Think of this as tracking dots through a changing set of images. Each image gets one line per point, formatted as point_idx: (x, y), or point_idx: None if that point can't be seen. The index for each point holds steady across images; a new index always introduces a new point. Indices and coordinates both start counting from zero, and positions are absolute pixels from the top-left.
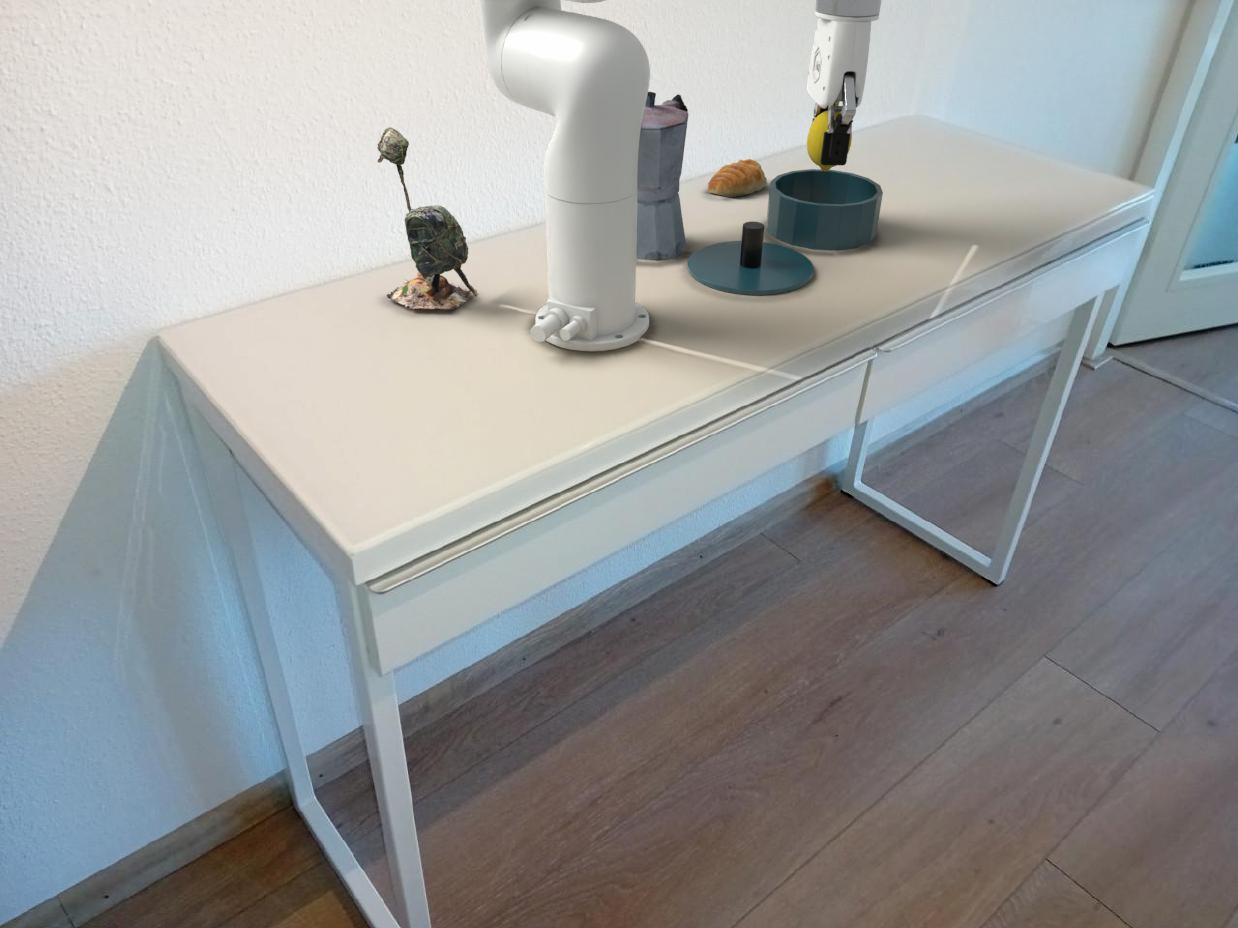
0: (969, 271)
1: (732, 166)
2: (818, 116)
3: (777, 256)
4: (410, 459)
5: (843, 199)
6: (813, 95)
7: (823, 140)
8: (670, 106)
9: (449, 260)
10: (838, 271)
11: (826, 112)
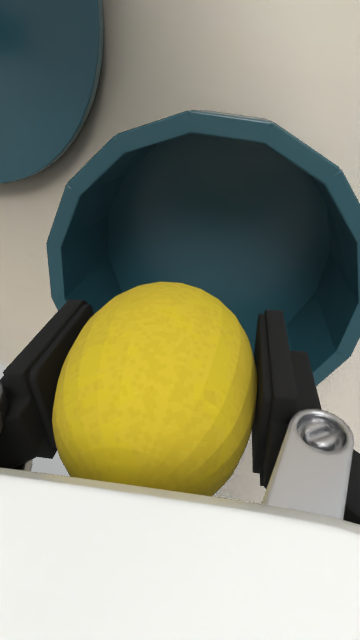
0: None
1: None
2: (134, 416)
3: (7, 103)
4: None
5: (296, 340)
6: (37, 517)
7: (35, 348)
8: None
9: None
10: (23, 237)
11: (111, 467)
